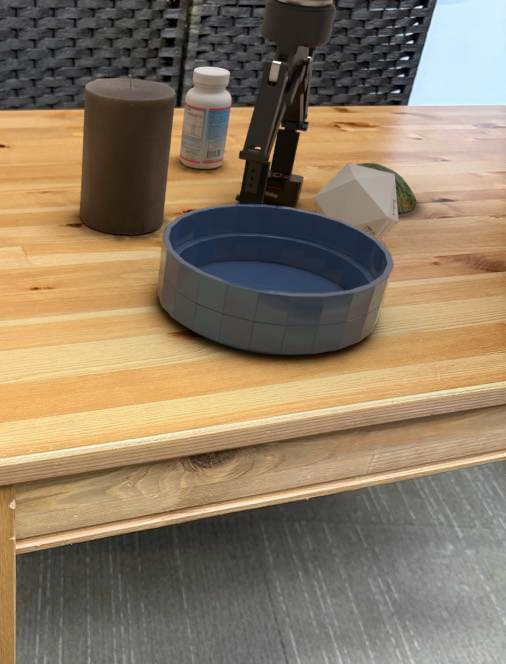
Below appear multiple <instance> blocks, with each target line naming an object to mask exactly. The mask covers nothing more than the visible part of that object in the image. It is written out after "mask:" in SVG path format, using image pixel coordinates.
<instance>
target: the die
mask: <svg viewBox="0 0 506 664" xmlns="http://www.w3.org/2000/svg"><path fill="white" fill-rule="evenodd" d="M313 203H314V204H313V205H314V211H315V213H319V214H323V215H326V216H329V217H332V218H335V219H339V220H342V221H344V222H347V223H349V224H351V225H353V226H355V227H358V228H360V229H362V230H364V231H366V232H367V233H369V234H370V235H372V236H373V237H375V238H376V239H378V240H379V241H380V242H381V240H382V239H383V238H384V237H385V236H386V235H387V234H388V233H389V232H390V231H391V230H392V229H393V228H394V227H395V226H396V225H397V224H398V223H399V213H398V209H397V197H396V185H395V174H392V173H388V172H384V171H379V170H375V169H371V168H367V167H363V166H359V165H357V164H355V163H352V162H351V163H350V162H348V163H346V164H345V166H343V167H342V168H341V170H340V171H338V173H337V174H335V175H334V176H333V177H332V178H331V179H330V180H329V181H328V182H327V183H326V184H325V185H324V186H323V187H322V188H320V190H319V191H318V192H317V193H316V194H315V195H314V196H313Z"/></svg>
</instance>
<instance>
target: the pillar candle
mask: <svg viewBox="0 0 506 664" xmlns="http://www.w3.org/2000/svg"><path fill="white" fill-rule="evenodd" d="M175 103H176V91H175V89H174V87H171V86H169V85H167V84H164V83H161V82H159V81H150V80H145V79H140V78H139V79H138V78H132V74H128V78H122V77H114V78H96V79H94V80H92V81H89V82H88V83H87V84H85V86H84V107H83V130H82V131H83V132H82V135H83V136H82V152H81V153H82V157H81V177H80V178H81V179H80V180H81V181H80V182H81V183H80V194H79V195H80V200H79V217H80V219H81V221H82V222H83V223H84V224H85V225H86V226H87V227H89V228H91V229H93V230H96V231H99V232H103V233H106V234H117V235H127V236H139V235H143V234H146V233H152V232H154V231H156V230H158V229H159V228H161V227H162V226H163V224H164V223H163V222H164V214H165V204H166V196H167V195H166V194H167V184H168V175H169V174H168V173H169V164H170V156H171V154H170V153H171V144H172V134H173V125H174V124H173V123H174V114H175V105H176V104H175Z"/></svg>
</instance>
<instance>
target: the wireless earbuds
mask: <svg viewBox="0 0 506 664" xmlns="http://www.w3.org/2000/svg"><path fill="white" fill-rule="evenodd" d="M304 179H305V176H303V175H300V174H296V173H292V174H290V173H284V172H279V171H274V170H270V169H269V174H268V179H267V185H266V190H265V195H264V200H263V204H267V205H274V206H282V207H291V208H295V207H296V206H297V205H298V203H299V202H300V198H301V194H302V190H303V189H302V188H303V184H304V181H305V180H304ZM239 198H240V193H237V194H236V196H235V198H234V199H235V201H237V202H239Z"/></svg>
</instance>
